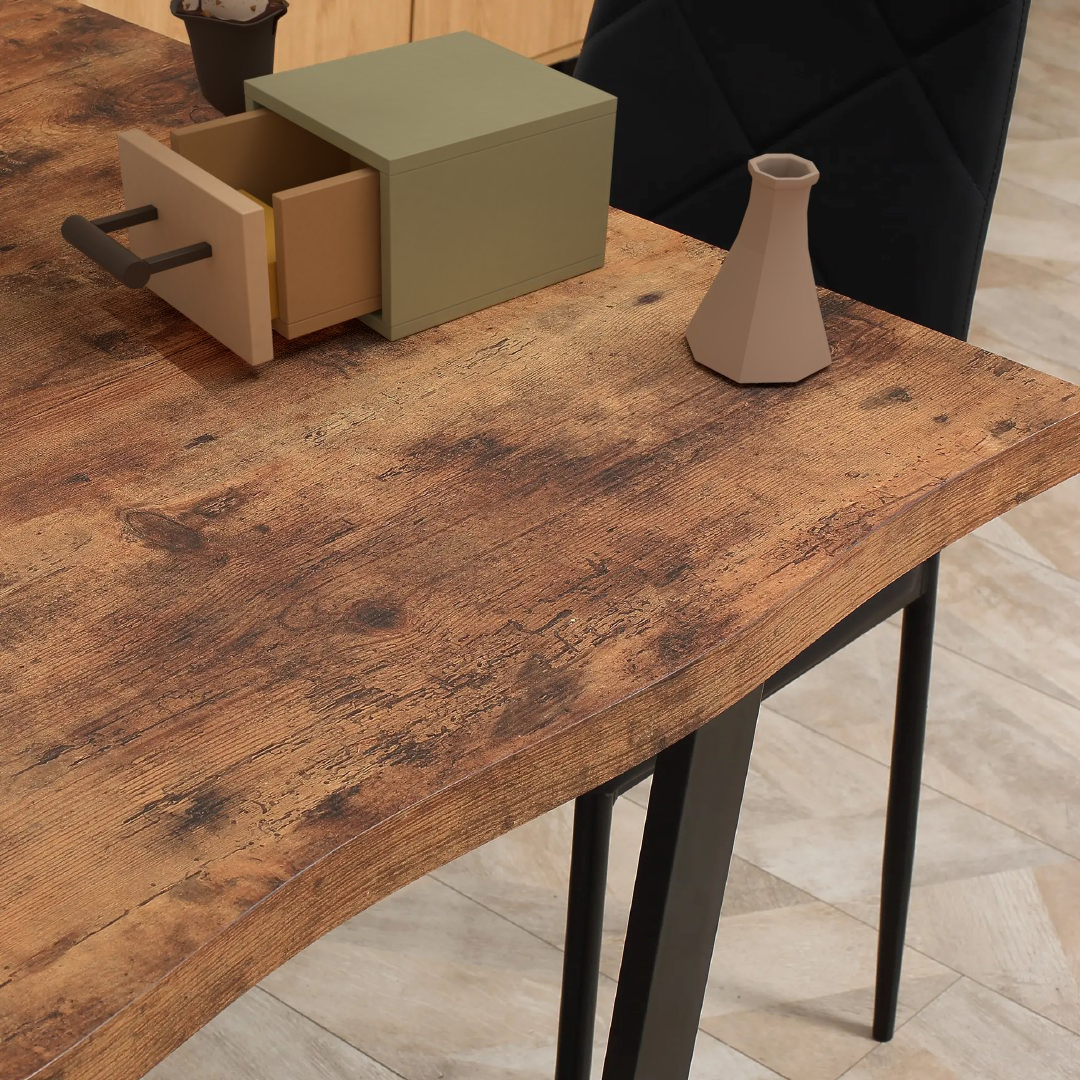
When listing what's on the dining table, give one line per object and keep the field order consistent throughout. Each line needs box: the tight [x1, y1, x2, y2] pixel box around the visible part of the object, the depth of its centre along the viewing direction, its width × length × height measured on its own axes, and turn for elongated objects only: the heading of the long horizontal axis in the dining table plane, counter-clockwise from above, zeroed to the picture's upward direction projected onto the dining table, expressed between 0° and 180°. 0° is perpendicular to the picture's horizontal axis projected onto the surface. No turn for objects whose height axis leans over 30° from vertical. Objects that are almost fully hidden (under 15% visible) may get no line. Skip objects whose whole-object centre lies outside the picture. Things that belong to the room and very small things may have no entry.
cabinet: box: [244, 29, 618, 342], centre depth 82 cm, size 15×13×10 cm
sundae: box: [169, 0, 290, 118], centre depth 89 cm, size 7×7×15 cm
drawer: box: [60, 107, 382, 367], centre depth 77 cm, size 18×11×8 cm, turn 131°
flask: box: [683, 153, 833, 384], centre depth 75 cm, size 7×7×10 cm
